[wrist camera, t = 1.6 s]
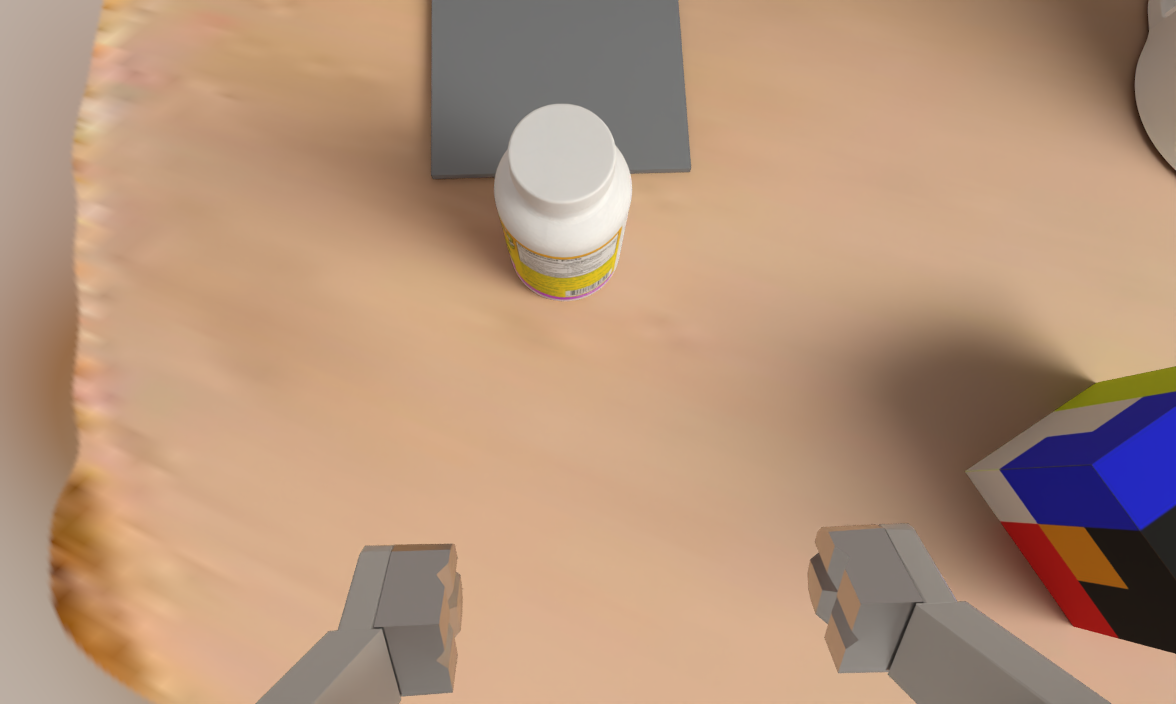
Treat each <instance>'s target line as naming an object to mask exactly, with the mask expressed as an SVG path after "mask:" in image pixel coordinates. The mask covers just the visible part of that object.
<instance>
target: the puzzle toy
mask: <svg viewBox="0 0 1176 704" xmlns="http://www.w3.org/2000/svg"><path fill="white" fill-rule="evenodd" d="M965 472H966V474H967V475H968V477H969V478H970V479H971V481H972V482H973V484H974V485H975V487H976V488H977V489H978V491H979V492H980V494H981V495H982V497H983V498H984V499H985V501H986V502H987V504H988V505H989V507H990V508H991V509H992V511H993V512H994V514H995V515H996V517H997V518H998V519H999V521H1000V522H1001V524H1002V525H1003V527H1004V528H1005V529H1006V531H1007V532H1008V534H1009V535H1010V537H1011V538H1012V539H1013V541H1014V542H1015V544H1016V545H1017V547H1018V548H1019V549H1020V551H1021V552H1022V554H1023V555H1024V557H1025V558H1026V559H1027V561H1028V562H1029V564H1030V565H1031V567H1032V568H1033V569H1034V571H1035V572H1036V574H1037V575H1038V577H1039V578H1040V579H1041V581H1042V582H1043V584H1044V585H1045V587H1046V588H1047V589H1048V591H1049V592H1050V594H1051V595H1052V597H1053V598H1054V599H1055V601H1056V602H1057V604H1058V605H1059V607H1060V608H1061V609H1062V611H1063V612H1064V614H1065V615H1066V617H1067V618H1068V619H1069V621H1070V622H1071V624H1072V625H1073V626H1074V627H1078V628H1081V629H1085V630H1089V631H1093V632H1096V633H1100V634H1104V635H1108V636H1111V637H1115V638H1119V639H1123V640H1126V641H1130V642H1134V643H1138V644H1142V645H1145V646H1149V647H1153V648H1157V649H1160V650H1164V651H1168V652H1172V653H1175V654H1176V366H1175V367H1170V368H1165V369H1161V370H1156V371H1151V372H1146V373H1141V374H1137V375H1132V376H1127V377H1122V378H1117V379H1112V380H1108V381H1103V382H1098V383H1095V384H1093V385H1092V386H1091V387H1089V388H1088V389H1086V390H1085V391H1083V392H1082V393H1080V394H1079V395H1077V396H1076V397H1074V398H1073V399H1071V400H1070V401H1068V402H1067V403H1065V404H1064V405H1062V406H1061V407H1059V408H1058V409H1056V410H1055V411H1053V412H1052V413H1050V414H1049V415H1047V416H1046V417H1044V418H1043V419H1042V420H1040V421H1039V422H1037V423H1036V424H1034V425H1033V426H1031V427H1030V428H1028V429H1027V430H1025V431H1024V432H1022V433H1021V434H1019V435H1018V436H1016V437H1015V438H1013V439H1012V440H1010V441H1009V442H1007V443H1006V444H1004V445H1003V446H1001V447H1000V448H998V449H997V450H995V451H994V452H993V453H991V454H990V455H988V456H987V457H985V458H984V459H982V460H981V461H979V462H978V463H976V464H975V465H973V466H972V467H970V468H969V469H967V470H966V471H965Z"/></svg>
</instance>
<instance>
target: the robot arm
mask: <svg viewBox="0 0 1176 704" xmlns="http://www.w3.org/2000/svg"><path fill="white" fill-rule="evenodd" d="M1148 22H1149V34H1148V38H1147V41H1146V43H1145V46H1144V48H1143V50H1142V53H1141V55H1140V58H1139V61H1138V64H1137V68H1136V74H1135V96H1136V103H1137V107H1138V111H1139V115H1140V118H1141V120H1142V123H1143V125H1144V128H1145V130H1146V132H1147V134H1148V136H1149V137H1150V139H1151V141H1152V142H1153V144H1154V145H1155V147H1156V148H1157V150H1158V151H1159V152H1160V154H1161V155H1162V156H1163V157H1164V158H1165V160H1166V161H1167V162H1168V163H1169V164H1170V165H1171V166H1172V167H1173V168H1174V169H1175V170H1176V0H1149V1H1148ZM815 544H816V547H817V549H818V552H819V553H818V554H816V555H815V556H814V557H813V558H812V559H810V563H809V568H808V590H809V594H810V599H811V602H812V605H813V608H814V611H815V614H816V615H817V616H819V617H820V618H821V619H822V620H823V621H825V622H826V623H827V624H828V626H827V630H826V633H825V637H824V638H825V640H826V643H827V645H828V648H829V651H830V653H831V656H832V659H833V661H834V664H835V666H836V669H837V672H838V673H865V672H889V673H888V675H889V676H890V677H891V678H892V679H893V680H894V681H895V682H896V683H897V684H898V685H899V686H900V687H901V688H902V689H903V690H904V691H905V692H906V693H907V694H908V695H909V696H910V697H911V698H912V699H913V700H914V701H915V702H916V703H917V704H1111V703H1110V702H1109V701H1107V700H1106V699H1104V698H1103V697H1101V696H1100V695H1099V694H1097V693H1096V692H1094V691H1093V690H1091V689H1090V688H1089V687H1087V686H1086V685H1084V684H1083V683H1081V682H1080V681H1079V680H1077V679H1076V678H1074V677H1073V676H1072V675H1070V674H1069V673H1067V672H1066V671H1064V670H1063V669H1062V668H1060V667H1059V666H1057V665H1056V664H1054V663H1053V662H1052V661H1050V660H1049V659H1047V658H1046V657H1044V656H1043V655H1042V654H1040V653H1039V652H1037V651H1036V650H1034V649H1033V648H1032V647H1030V646H1029V645H1027V644H1026V643H1025V642H1023V641H1022V640H1020V639H1019V638H1017V637H1016V636H1015V635H1013V634H1012V633H1010V632H1009V631H1007V630H1006V629H1005V628H1003V627H1002V626H1000V625H999V624H997V623H996V622H995V621H993V620H992V619H990V618H989V617H987V616H986V615H985V614H983V613H982V612H980V611H979V610H978V609H976V608H975V607H973V606H972V605H970V604H969V603H968V602H966V601H957V600H956V599H955V597H954V595H953V594H952V592H951V590H950V589H949V587H948V585H947V583H946V582H945V580H944V578H943V577H942V575H941V573H940V572H939V570H938V568H937V567H936V565H935V563H934V561H933V560H932V558H931V556H930V555H929V553H928V551H927V550H926V548H925V546H924V545H923V543H922V541H921V540H920V538H919V536H918V534H917V533H916V531H915V529H914V528H913V527H912V526H911V525H909V524H908V523H901V524H879V525H876V524H871V525H853V526H834V527H821V529H820V530H819V531H818V532H817V536H816V539H815ZM457 558H458V557H457V552H456V548H455V544H408V545H375V546H365V547H364V548H363V550H362V551H361V553H360V555H359V558H358V562H357V565H356V568H355V572H354V575H353V579H352V582H351V586H350V589H349V593H348V596H347V600H346V603H345V607H344V610H343V613H342V617H341V620H340V624H339V627H338V630H336V631H328V632H327V633H326V634H325V635H324V636H323V637H322V638H321V639H320V640H319V641H318V642H317V643H316V644H315V645H314V646H313V647H312V648H311V649H310V650H309V651H308V652H307V653H306V654H305V655H304V656H303V657H302V658H301V659H300V660H299V661H298V662H297V663H296V664H295V665H294V666H293V667H292V668H291V669H290V670H289V671H288V672H287V673H286V674H285V675H284V676H283V677H282V678H281V679H280V680H279V681H278V682H277V683H276V684H275V685H274V686H273V687H272V688H271V689H270V690H269V691H268V692H267V693H266V694H265V695H264V696H263V697H262V698H261V699H260V700H259V701H258V702H257V703H256V704H399V702H400V701H401V696H414V695H427V694H439V693H452V692H453V688H454V680H455V672H456V664H457V656H458V654H457V649H456V643H455V637H456V635H457V634H458V633H459V632H460V631H461V621H462V603H463V595H462V582H461V576H460V574H458V573H457V572H456V566H457Z"/></svg>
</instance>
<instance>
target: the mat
mask: <svg viewBox="0 0 1176 704" xmlns="http://www.w3.org/2000/svg"><path fill="white" fill-rule="evenodd" d="M551 104H572V105H577V106H580V107H583V108H585V109H587V110H590V111H591V112H593V113H594V114H595V115H597V116H598V117H599V118H600V119H601V120H602V121H603V122H604V123H605V124H606V126H607V127H608V128H609V130H610V132H611V134H612V136H613V139H614V142H615V145H616V147H617V148H618V149H619V150H620V152H621V153H622V155H623V157H624V159H625V161H626V163H627V165H628V168H629V171H630V174H634V173H671V172H690V170H691V161H690V148H689V135H688V122H687V109H686V96H685V83H684V69H683V56H682V43H681V30H680V17H679V4H678V0H432V106H431V176H432V178H433V179H447V178H484V177H495V175H496V171H497V168H498V165H499V163H500V161H501V159H502V157H503V155H504V153H505V152H506V151H507V149H508V145H509V141H510V137H511V135H512V133H513V131H514V129H515V128H516V126H517V125H518V123H519V122H520V121H521V120H522V119H523V118H524V117H525V116H527V115H528V114H529V113H531V112H532V111H534V110H536V109H538V108H540V107H543V106H547V105H551Z"/></svg>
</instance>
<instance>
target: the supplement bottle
mask: <svg viewBox="0 0 1176 704" xmlns="http://www.w3.org/2000/svg"><path fill="white" fill-rule="evenodd" d="M494 196H495V202H496V207H497V211H498V214H499V218H500V221H501V225H502V229H503V232H504V236H505V240H506V243H507V247H508V251H509V255H510V258H511V261H512V264H513V267H514V269H515V271H516V273H517V275H518V276H519V278H520V279H521V281H522V282H523V283H524V284H525V285H526V286H527V287H528V288H529V289H530V290H532V291H533V292H535V293H536V294H538V295H540V296H542V297H545V298H548V299H552V300H556V301H574V300H579V299H582V298H585V297H588V296H590V295H592V294H594V293H595V292H597V291H598V290H599V289H601V288H602V287H603V286H604V285H605V284H606V283H607V282H608V281H609V279H610V278H611V276H612V275H613V273H614V271H615V269H616V267H617V264H618V260H619V257H620V252H621V246H622V241H623V236H624V231H625V226H626V221H627V216H628V212H629V207H630V203H631V197H632V181H631V175H630V171H629V168H628V165H627V163H626V161H625V159H624V157H623V155H622V153H621V152H620V150H619V149H618V148H617V147H616V145H615V142H614V139H613V136H612V134H611V132H610V130H609V128H608V127H607V126H606V124H605V123H604V122H603V121H602V120H601V119H600V118H599V117H598V116H597V115H595V114H594V113H593V112H591V111H590V110H587V109H585V108H583V107H580V106H577V105H572V104H551V105H547V106H543V107H540V108H538V109H536V110H534V111H532V112H531V113H529V114H528V115H527V116H525V117H524V118H523V119H522V120H521V121H520V122H519V123H518V125H517V126H516V128H515V129H514V131H513V133H512V135H511V137H510V141H509V145H508V149H507V151H506V152H505V153H504V155H503V157H502V159H501V161H500V163H499V165H498V168H497V171H496V175H495V181H494Z"/></svg>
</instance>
